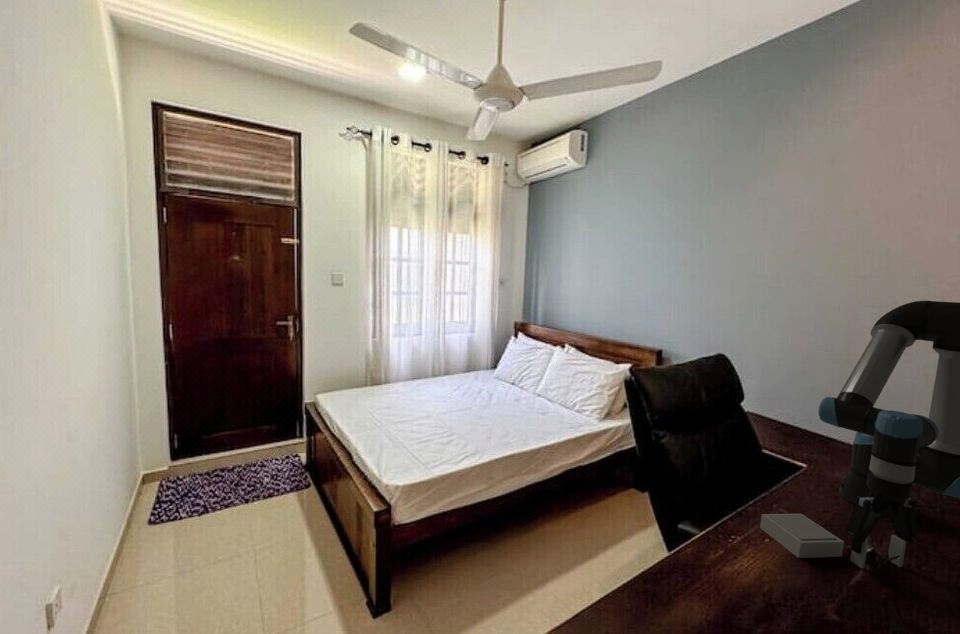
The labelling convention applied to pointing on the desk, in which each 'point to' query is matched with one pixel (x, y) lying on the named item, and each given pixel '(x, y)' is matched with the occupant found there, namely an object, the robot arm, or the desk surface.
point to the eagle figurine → (876, 554)
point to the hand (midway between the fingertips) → (875, 563)
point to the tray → (801, 535)
